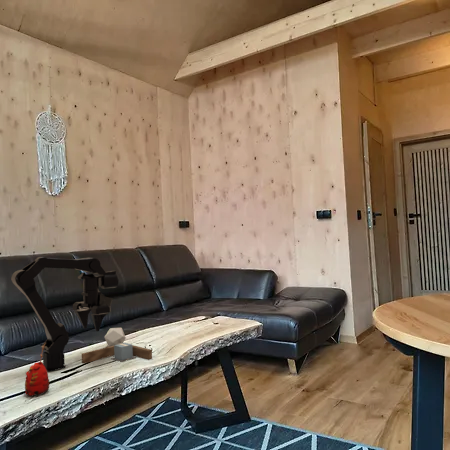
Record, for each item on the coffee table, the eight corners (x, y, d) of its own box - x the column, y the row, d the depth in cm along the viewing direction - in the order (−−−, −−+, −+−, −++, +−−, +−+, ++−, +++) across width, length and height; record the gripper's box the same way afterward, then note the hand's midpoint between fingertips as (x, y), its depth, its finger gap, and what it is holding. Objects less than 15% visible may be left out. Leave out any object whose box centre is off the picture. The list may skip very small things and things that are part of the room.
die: (114, 351, 177) (127, 331, 180) (98, 341, 178) (111, 321, 182) (119, 353, 184) (131, 334, 187) (103, 343, 186) (115, 324, 189)
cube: (132, 357, 164) (132, 344, 164) (121, 360, 160) (121, 347, 160) (125, 355, 167) (124, 342, 167) (114, 358, 163) (114, 345, 163)
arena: (109, 371, 147) (109, 361, 147) (81, 362, 159) (81, 353, 159) (152, 358, 161) (151, 349, 162) (123, 351, 174) (123, 342, 174)
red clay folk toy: (23, 391, 130) (22, 343, 131) (47, 386, 134) (46, 340, 134) (26, 399, 124) (25, 348, 124) (51, 394, 127) (50, 344, 128)
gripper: (122, 289, 163) (122, 329, 162) (97, 286, 176) (97, 323, 175) (96, 292, 155) (96, 334, 154) (72, 289, 167) (72, 328, 167)
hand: (91, 329), depth 163 cm, fingers open, 9 cm apart
